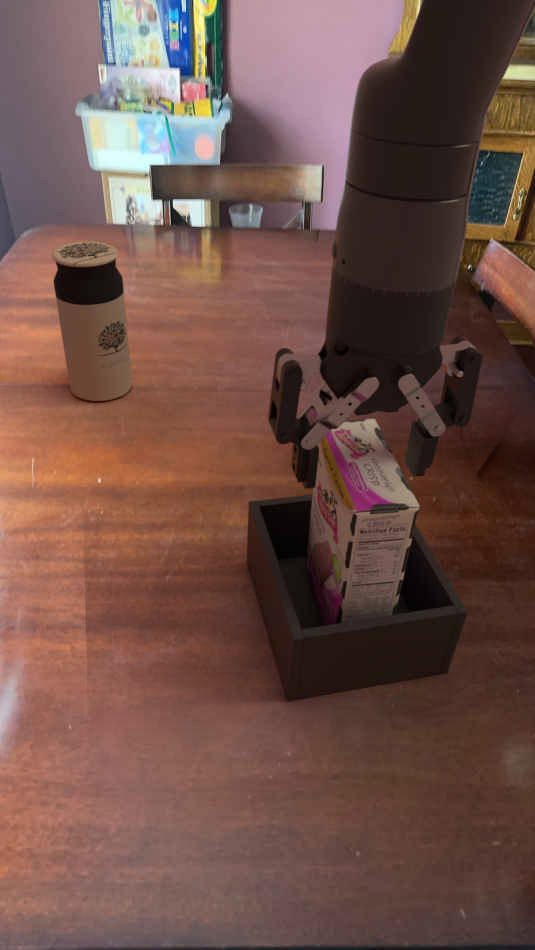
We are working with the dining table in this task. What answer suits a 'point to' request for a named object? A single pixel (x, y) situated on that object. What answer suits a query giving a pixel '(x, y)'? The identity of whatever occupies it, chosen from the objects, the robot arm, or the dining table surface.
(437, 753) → the dining table surface
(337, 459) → the candy bar box
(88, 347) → the travel mug
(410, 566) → the basket
